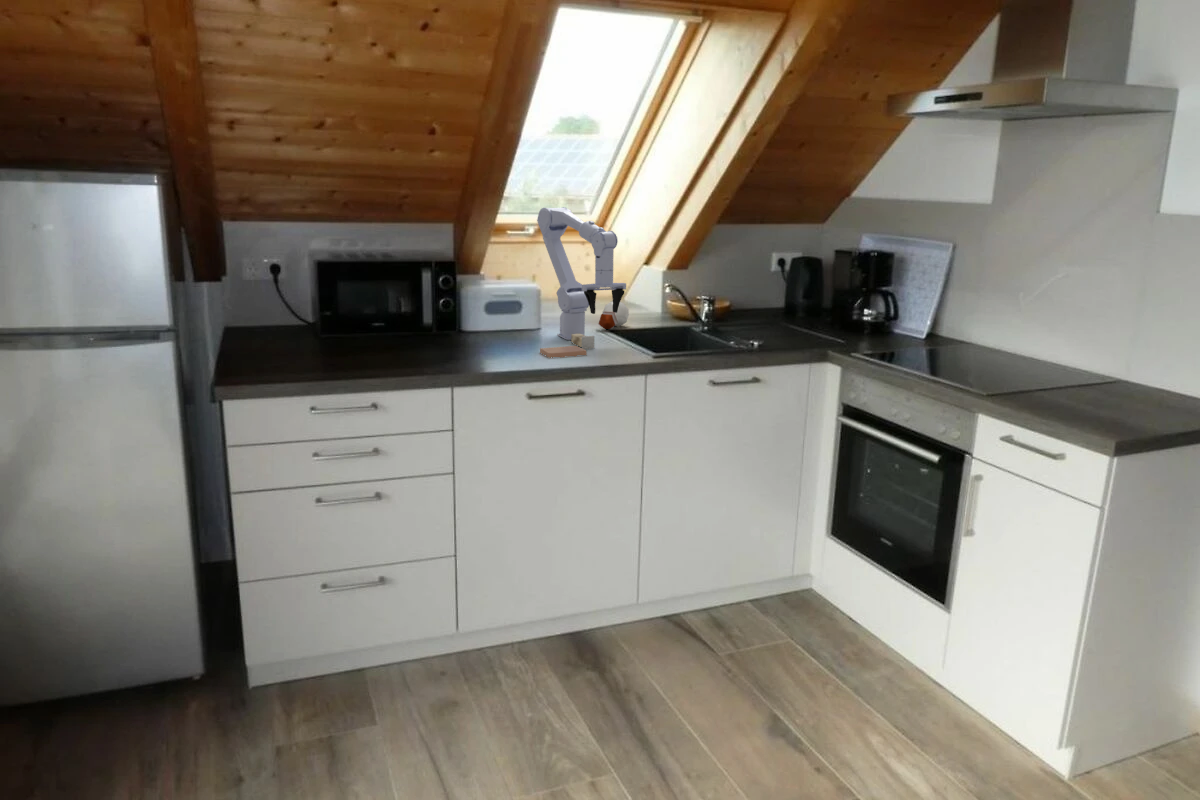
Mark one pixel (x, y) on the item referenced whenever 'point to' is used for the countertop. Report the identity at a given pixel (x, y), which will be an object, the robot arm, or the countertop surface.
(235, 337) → the countertop surface
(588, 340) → the capped square post
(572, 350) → the tile
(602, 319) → the potion bottle
